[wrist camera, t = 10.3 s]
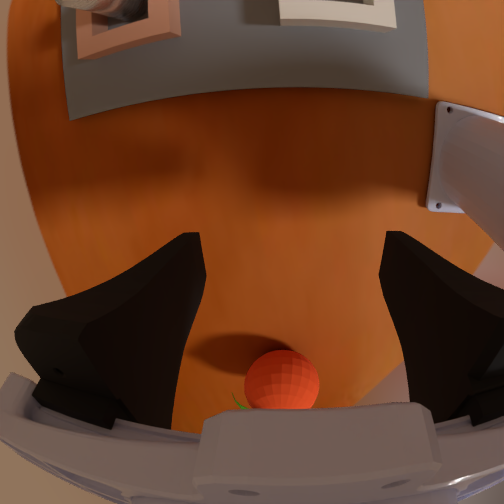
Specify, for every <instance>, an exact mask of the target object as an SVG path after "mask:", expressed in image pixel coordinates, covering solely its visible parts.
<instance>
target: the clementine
mask: <svg viewBox="0 0 504 504" xmlns="http://www.w3.org/2000/svg"><path fill="white" fill-rule="evenodd" d="M244 389H245V395H246V398H247V400H248V403H249V405H250V406H251V407H252V408H261V409H310V408H311V407H312V406H313V404H314V402H315V400H316V397H317V395H318V392H319V378H318V374H317V371H316V370H315V368H314V366H313V365H312V363H311V362H310V361H309V360H308V359H307V358H305V357H304V356H303V355H301V354H299V353H297V352H294V351H290V350H275V351H271V352H268V353H266V354H264V355H262V356H261V357H259V358H258V359H257V360H256V361H254V363H253V364H252V365H251V367H250V368H249V370H248V372H247V374H246V378H245V384H244ZM232 395H233V393H232ZM233 397H234V396H233ZM234 400H235V398H234ZM235 402H236V403H237V404H238V406H239V407H240V408H241V409H248V408H246V407H244V406H242V405H240V404H239V403H238V402H237V401H236V400H235Z"/></svg>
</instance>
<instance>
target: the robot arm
mask: <svg viewBox="0 0 504 504" xmlns="http://www.w3.org/2000/svg"><path fill="white" fill-rule="evenodd" d="M447 107H450V112H449V113H448V112H447ZM437 203H439V206H438V207H436V204H437ZM426 208H427V209H428V210H429V211H432V212H452V213H466V214H467V215H468V216H469V217H470V218H471V219H472V220H473V221H474V222H475V223H476V224H478V225H479V226H480V227H481V228H482V229H483V230H484V231H485V232H486V233H487V234H488V235H489V236H490V237H491V238H492V239H493V241H494V242H495V243H496V244H497V245H498V246H499V247H500V248H501V249H502V250H503V251H504V117H502V116H499V115H496V114H492V113H489V112H485V111H482V110H478V109H474V108H470V107H466V106H462V105H458V104H453V103H448V102H444V101H439V102H438V103H437V104H436V112H435V130H434V142H433V153H432V162H431V171H430V178H429V185H428V192H427V198H426ZM379 279H380V283H381V288H382V292H383V296H384V299H385V301H386V304H387V307H388V310H389V312H390V315H391V318H392V320H393V323H394V326H395V329H396V331H397V334H398V337H399V340H400V344H401V347H402V351H403V356H404V361H405V366H406V372H407V380H408V387H409V397H410V402H391V403H383V404H374V405H364V406H352V407H338V408H317V409H261V408H253V409H239V410H227V411H224V412H222V413H220V414H217V415H215V416H213V417H210V418H208V419H206V420H204V425H203V430H202V434H195V433H188V432H181V431H175V430H171V422H172V413H173V406H174V399H175V392H176V386H177V380H178V375H179V370H180V365H181V360H182V356H183V351H184V347H185V344H186V341H187V338H188V335H189V332H190V330H191V327H192V324H193V321H194V319H195V316H196V313H197V310H198V307H199V305H200V302H201V299H202V296H203V291H204V286H205V281H206V270H205V264H204V259H203V253H202V247H201V241H200V235H199V232H189V233H183V234H181V235H179V236H177V237H176V238H174V239H173V240H171V241H170V242H168V243H167V244H166V245H164V246H163V247H161V248H160V249H159V250H157V251H156V252H154V253H153V254H151V255H150V256H148V257H147V258H145V259H144V260H142V261H141V262H139V263H138V264H136V265H135V266H133V267H132V268H130V269H128V270H127V271H125V272H123V273H121V274H120V275H118V276H116V277H114V278H112V279H110V280H108V281H106V282H104V283H102V284H99V285H97V286H95V287H93V288H91V289H88V290H86V291H83V292H81V293H78V294H75V295H72V296H69V297H66V298H64V299H60V300H57V301H53V302H49V303H45V304H41V305H37V306H33V307H32V308H31V309H30V310H29V312H28V313H27V314H26V315H25V317H24V318H23V319H22V321H21V322H20V323H19V325H18V326H17V327H16V329H15V331H14V333H15V340H16V343H17V345H18V347H19V349H20V351H21V352H22V354H23V355H24V357H25V358H26V359H27V361H28V362H29V363H30V364H31V366H32V367H33V369H34V370H35V371H36V373H37V374H38V375H39V376H40V378H41V379H40V380H39V382H38V384H36V383H34V382H33V381H31V380H30V379H28V378H25V377H23V376H20V375H18V374H16V373H13V372H11V373H10V374H9V376H8V377H7V379H6V381H5V382H4V384H3V386H2V387H1V389H0V440H1V441H2V442H3V443H4V444H6V445H7V446H8V447H9V448H11V449H12V450H13V451H15V452H16V453H17V454H19V455H20V456H21V457H23V458H24V459H26V460H27V461H29V462H31V463H32V464H34V465H36V466H38V467H40V468H41V469H43V470H45V471H47V472H49V473H51V474H52V475H54V476H56V477H58V478H60V479H62V480H64V481H66V482H68V483H70V484H72V485H74V486H76V487H78V488H81V489H83V490H85V491H87V492H90V493H92V494H94V495H97V496H99V497H102V498H104V499H106V500H109V501H112V502H114V503H117V504H458V501H461V500H463V499H466V498H468V497H470V496H473V495H475V494H477V493H479V492H482V491H484V490H486V489H488V488H490V487H492V486H494V485H496V484H498V483H500V482H502V481H504V290H503V289H501V288H498V287H496V286H494V285H492V284H489V283H487V282H485V281H483V280H480V279H479V278H477V277H475V276H473V275H471V274H469V273H467V272H466V271H464V270H462V269H460V268H458V267H457V266H455V265H454V264H452V263H450V262H449V261H447V260H446V259H444V258H443V257H441V256H440V255H438V254H437V253H435V252H434V251H432V250H431V249H429V248H428V247H426V246H425V245H423V244H422V243H420V242H419V241H417V240H416V239H414V238H413V237H411V236H409V235H408V234H406V233H404V232H402V231H386V238H385V243H384V249H383V255H382V260H381V265H380V270H379Z"/></svg>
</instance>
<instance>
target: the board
mask: <svg viewBox="0 0 504 504" xmlns="http://www.w3.org/2000/svg"><path fill="white" fill-rule="evenodd" d="M326 1H339V2H349V3H358V4H364V2H363V0H326ZM394 6H395V15H396V26H397V28H396V29H394V30H391V31H389V32H386V33H382V32H375V31H367V30H359V29H349V28H338V27H322V26H280V14H279V2H278V0H179V8H180V24H181V36H180V37H175V38H170V39H166V40H161V41H157V42H152V43H148V44H144V45H140V46H137V47H133V48H129V49H126V50H123V51H119V52H116V53H113V54H110V55H107V56H103V57H101V58H98V59H78V53H77V35H76V8H71V7H65V6H61V41H62V59H63V71H64V82H65V91H66V99H67V106H68V113H69V119H70V121H71V120H75V119H78V118H81V117H85V116H88V115H92V114H95V113H99V112H103V111H107V110H111V109H115V108H119V107H124V106H128V105H133V104H137V103H142V102H147V101H153V100H158V99H164V98H170V97H176V96H182V95H189V94H197V93H205V92H214V91H224V90H236V89H250V88H272V87H322V88H344V89H358V90H370V91H379V92H388V93H396V94H403V95H410V96H416V97H422V98H428V48H427V33H426V22H425V12H424V4H423V0H394ZM147 18H149V17H148V9H147V11H146V12H145V13H144V14H143V15H142V16H141V17H140V18H138V19H136V20H134V21H123V20H120V19H116V18H113V17H109V16H108V30H111V29H114V28H117V27H120V26H123V25H127V24H130V23H133V22H136V21H140V20H143V19H147Z"/></svg>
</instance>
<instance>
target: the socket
mask: <svg viewBox="0 0 504 504" xmlns="http://www.w3.org/2000/svg"><path fill="white" fill-rule="evenodd" d="M148 17H149V18H147V19H143V20H140V21H136V22H133V23H130V24H127V25H123V26H120V27H117V28H114V29H111V30H108V16H105V15H102V14H98V13H93V12H89V11H85V10H80V9H76V35H77V53H78V59H98V58H101V57H103V56H107V55H110V54H113V53H116V52H119V51H123V50H126V49H129V48H133V47H137V46H140V45H144V44H148V43H152V42H157V41H161V40H166V39H170V38H175V37H180V36H181V24H180V8H179V0H148Z"/></svg>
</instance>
